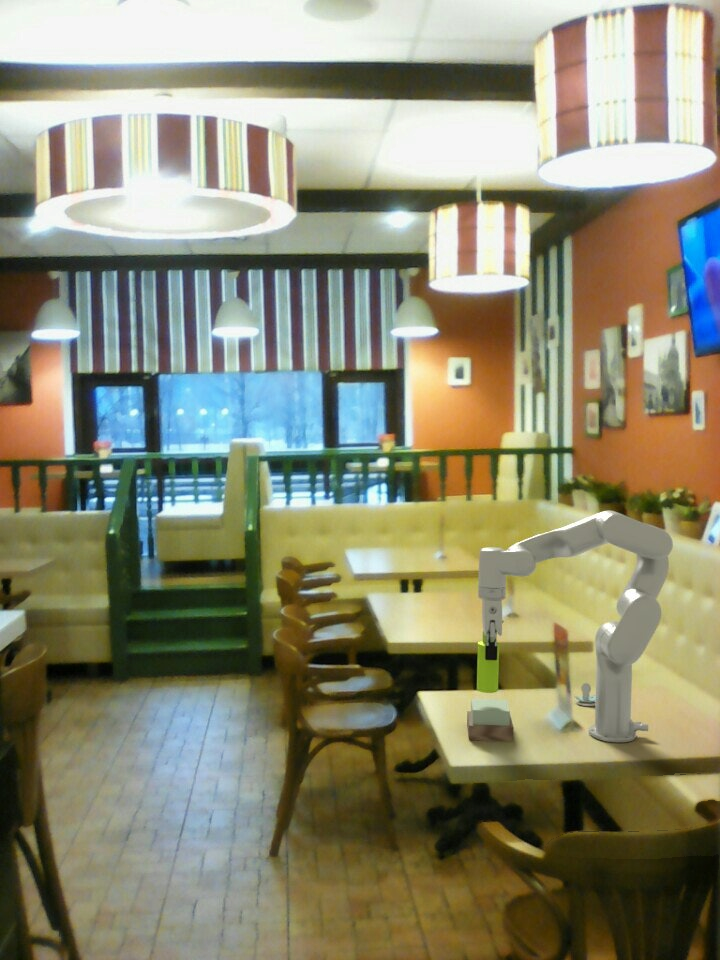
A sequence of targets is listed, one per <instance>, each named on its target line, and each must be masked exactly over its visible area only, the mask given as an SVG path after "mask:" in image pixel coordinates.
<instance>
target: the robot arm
mask: <svg viewBox="0 0 720 960" xmlns="http://www.w3.org/2000/svg"><path fill="white" fill-rule="evenodd" d="M673 541H674V540H673V539H672V537H671V535H670V534H669V532H667V531H666V530H664V529H662V528H660V527H657V526H655V525H653V524H650V523H649V524H648V523H645V522H642V521H639V520H637V519H634V518H632V517H629V516H627V515H625V514H623V513H620V512H617V511H614V510H604V511H601V512H597V513H595V514H592V515H590V516H588V517H585V518H583V519H581V520H578V521H576V522H575V521H574V523H570V524H568V525H566V526H563V527H560V528H556V529H554V530H551V531H547V532H544V533H541V534H537V535H534V536H532V537H529V538H526V539H524V540H522V541H520V542H516V543H515V544H513V545H510V547H508V548H507V549H506V550H505V549H504V548H502V547H495V546H494V547H493V546H492V547H491V546H489V547H483V548H481V549H480V550H479V554H478V556H479V557H478V583H477V584H478V585H477V589H478V591H477V594H478V595H477V597H478V599H481V601H482V604H481V605H482V606H481V608H482V609H481V616H482V617H481V619H482V620H481V621H482V622H481V623H482V632H483V631H484V634H485V635H486V636H487V637H486V645H485V659H486V660H497V643H498V642H497V641H498V635H499V636H500V637H501V636H502V635H503V623H502V620H503V601H504V600H505V599H506V597H507V596H506V594H507V593H506V592H507V575H508V576H513V577H521V578H522V577H527V576H531V575H532V574H533V573H534V572H535V570H536V569H537V564H539V563H541V562H544V561H547V560H551V559H556V558H572V557H577V556H579V555H582V554H584V553H587V552H589V551H590V550H593V549H596V548H599V547H601V546H604V545H606V544H610V545H612V546H615V547H617V548H620V549H622V550H624V551H627V552H630V553H633V554H636V563H635V568H634V570H633V572H632V575H631V577H630V578H629V580H628V582H627V584H626V585H625V586H624V589H623V590H622V592H621V594H620V595H619V597H618V599H617V602H616V610H617V613H618V615H619V616H620V619H619V621H613V620H612V621H607V622H605V623H603V624H601V625H600V626H599V628H598V629H597V631H596V634H595V638H594V647H595V657H596V658H595V661H596V662H595V663H596V673H595V674H596V675H595V676H596V677H595V695H596V700H595V701H594V702H595V707H594V708H595V710H594V724H592V725H591V726H590V727H589V728H588V734H589V735H590V736H591V737H593V738H595V739H597V740H600V741H604V742H608V743H628V742H632V741H634V740H635V739H636V738H637V732H638V731H639V732H640V731H641V732H648V731H649V724H648V723H642V721H633V720H632V718H631V716H632V714H631V713H632V691H633V690H632V687H633V666H632V665H634V664H635V663H636V662H637V661H638V660H639V659H640V658H641V657H642V655H643V654H644V652H645V651H646V649H647V647H648V646H649V643H650V642H651V640H652V638H653V636H654V635H655V633H656V630H657V629H658V627H659V625H660V622H661V619H662V618H661V617H662V607H661V604H660V603H659V602H658V600H657V599H658V597H659V595H660V593H661V590H662V588H663V586H664V584H665V583H666V580H667V578H668V574H669V565H670V564H669V563H670V562H669V555H670V554H671V552H672V551H673V546H674V544H673V543H674V542H673ZM488 632H490V634H488ZM489 637H490V638H489Z"/></svg>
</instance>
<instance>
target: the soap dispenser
mask: <svg viewBox="0 0 720 960" xmlns="http://www.w3.org/2000/svg"><path fill="white" fill-rule="evenodd" d="M503 623H505V621H504V620H503V619H502V624H503ZM488 634H490V632H488ZM486 637H487V636H486V635H485V634H484V631H483V630H482V640H481V641H478V642H477V660H476V661H477V662H476V663H477V666H476V691H478V692H481V693H485V694H492V693H497V692H498V691H499V674H500V673H499V671H500V669H499V666H500V664H499V663H500V643H499V642H497V660H486V659H485V645H486ZM489 638H490V637H489Z"/></svg>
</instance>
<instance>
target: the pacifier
mask: <svg viewBox="0 0 720 960" xmlns="http://www.w3.org/2000/svg"><path fill="white" fill-rule="evenodd" d="M580 688H581V692H582V696H577V695H573V697H574V698H575V699H576V700H578V701H577V702H576V704H577V705H579V706H583V707H594V706H595V701H596V694H593V695H590V693H591V689H592V687H591V685H590V684H589V683H588V682H585V683H583V684H582V685H581V687H580Z"/></svg>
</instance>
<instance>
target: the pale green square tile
mask: <svg viewBox="0 0 720 960" xmlns="http://www.w3.org/2000/svg"><path fill="white" fill-rule="evenodd" d="M470 701H471V702H470V711H471V716H472V723H473V724H474V725H501V726H510V716H511V712H510V707H509V704H508V700H507V699H491V698H490V699H489V698H471V700H470Z"/></svg>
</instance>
